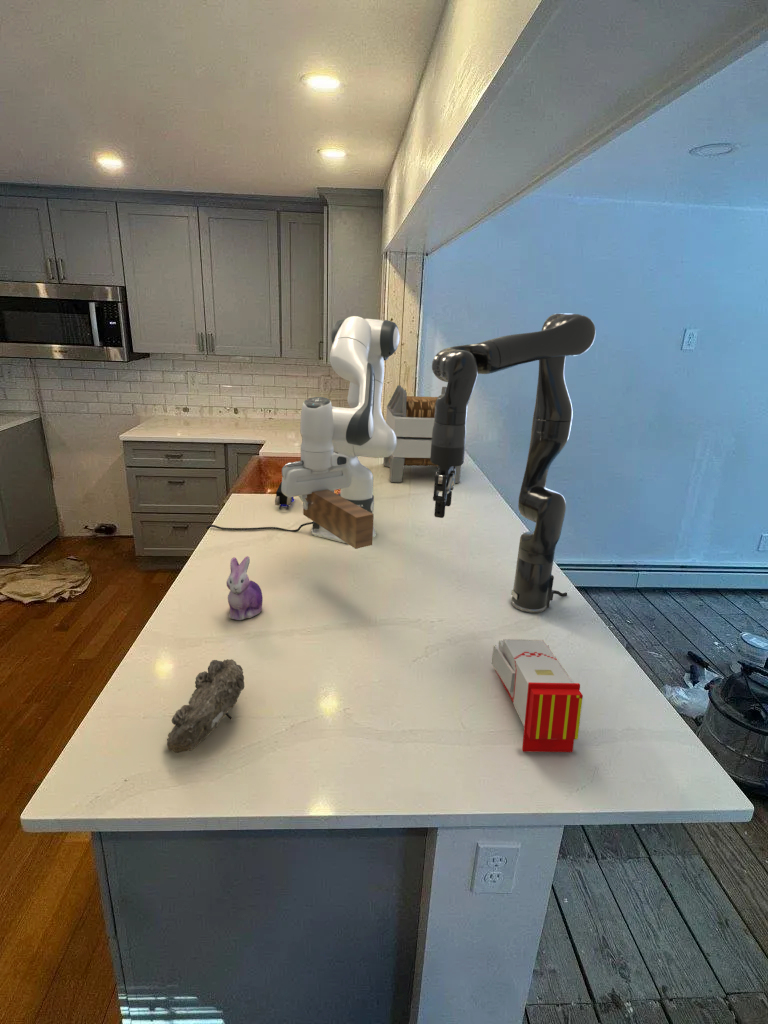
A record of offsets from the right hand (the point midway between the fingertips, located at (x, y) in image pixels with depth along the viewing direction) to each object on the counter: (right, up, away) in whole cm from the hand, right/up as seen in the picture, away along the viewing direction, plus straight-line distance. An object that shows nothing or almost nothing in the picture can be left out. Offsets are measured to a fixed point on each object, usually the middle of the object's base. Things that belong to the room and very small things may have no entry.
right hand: (442, 511), depth 131 cm
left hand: (-32, +1, +27) cm, 42 cm away
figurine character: (-52, +2, +92) cm, 106 cm away
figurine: (-49, -26, +14) cm, 57 cm away
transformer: (+4, +19, +144) cm, 145 cm away
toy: (+16, -39, -16) cm, 45 cm away
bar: (-27, -5, +20) cm, 34 cm away
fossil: (-46, -39, -23) cm, 65 cm away
